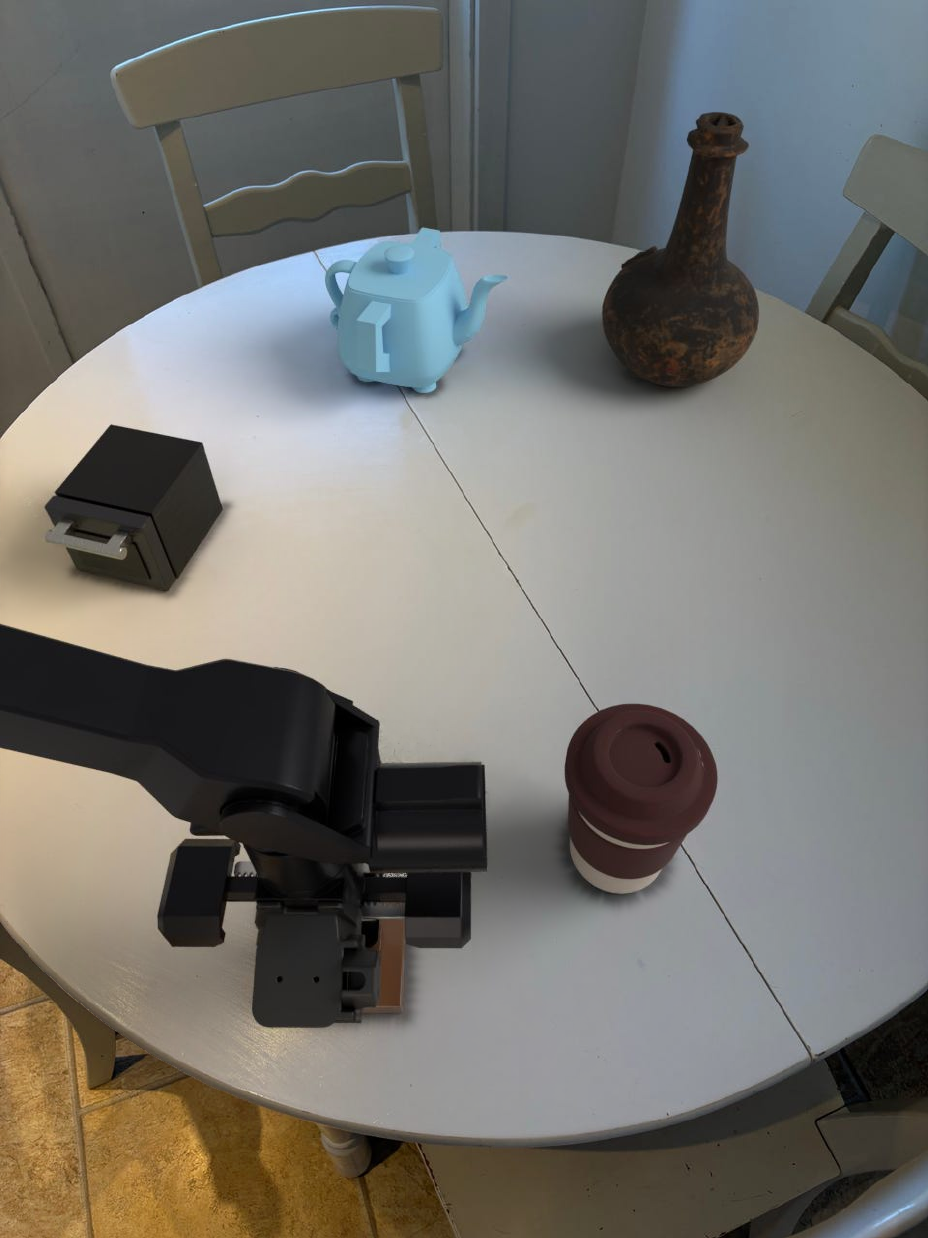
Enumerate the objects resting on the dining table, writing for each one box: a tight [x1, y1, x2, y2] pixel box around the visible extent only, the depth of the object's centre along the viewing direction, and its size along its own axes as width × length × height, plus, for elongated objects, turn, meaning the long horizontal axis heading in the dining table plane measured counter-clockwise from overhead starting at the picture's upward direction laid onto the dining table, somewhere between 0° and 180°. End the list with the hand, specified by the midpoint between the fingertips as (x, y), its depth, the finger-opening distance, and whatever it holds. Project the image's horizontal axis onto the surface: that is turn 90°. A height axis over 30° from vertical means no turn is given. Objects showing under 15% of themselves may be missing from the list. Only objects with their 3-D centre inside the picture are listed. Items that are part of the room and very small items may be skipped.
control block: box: [362, 902, 407, 1014], centre depth 63 cm, size 9×8×4 cm
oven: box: [54, 423, 224, 580], centre depth 87 cm, size 10×10×9 cm
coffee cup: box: [564, 703, 719, 895], centre depth 63 cm, size 10×10×15 cm
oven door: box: [43, 495, 177, 592], centre depth 83 cm, size 4×10×9 cm, turn 74°
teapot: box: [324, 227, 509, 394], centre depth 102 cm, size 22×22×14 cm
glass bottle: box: [601, 111, 760, 388], centre depth 97 cm, size 18×18×28 cm
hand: (336, 937), depth 61 cm, fingers closed, pressing on start button
